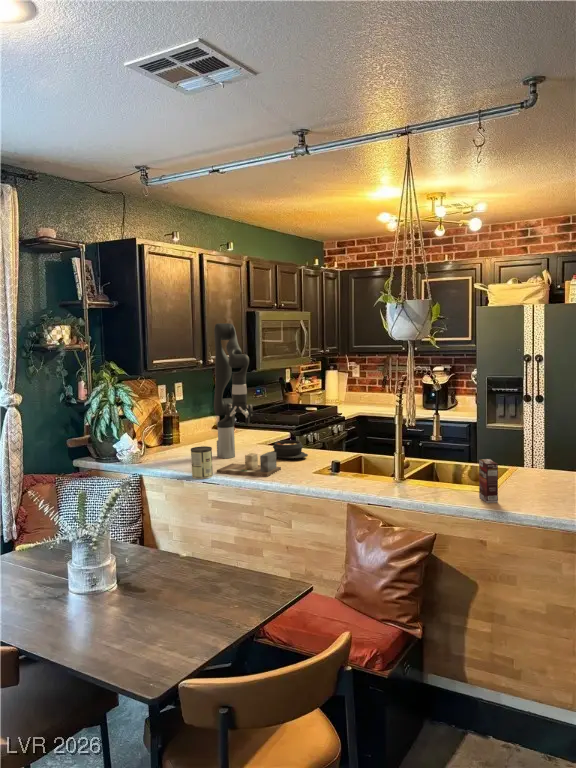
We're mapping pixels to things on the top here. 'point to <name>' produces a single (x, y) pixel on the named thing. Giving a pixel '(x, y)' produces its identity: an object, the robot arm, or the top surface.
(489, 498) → the supplement box
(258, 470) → the board
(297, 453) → the casserole
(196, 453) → the coffee can
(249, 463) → the tan wooden block
